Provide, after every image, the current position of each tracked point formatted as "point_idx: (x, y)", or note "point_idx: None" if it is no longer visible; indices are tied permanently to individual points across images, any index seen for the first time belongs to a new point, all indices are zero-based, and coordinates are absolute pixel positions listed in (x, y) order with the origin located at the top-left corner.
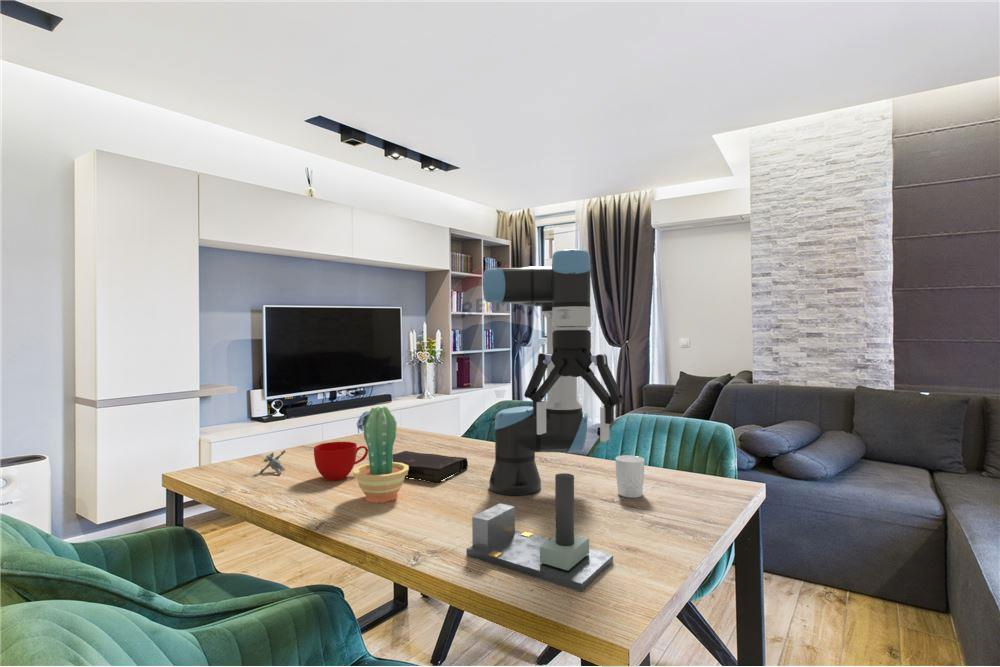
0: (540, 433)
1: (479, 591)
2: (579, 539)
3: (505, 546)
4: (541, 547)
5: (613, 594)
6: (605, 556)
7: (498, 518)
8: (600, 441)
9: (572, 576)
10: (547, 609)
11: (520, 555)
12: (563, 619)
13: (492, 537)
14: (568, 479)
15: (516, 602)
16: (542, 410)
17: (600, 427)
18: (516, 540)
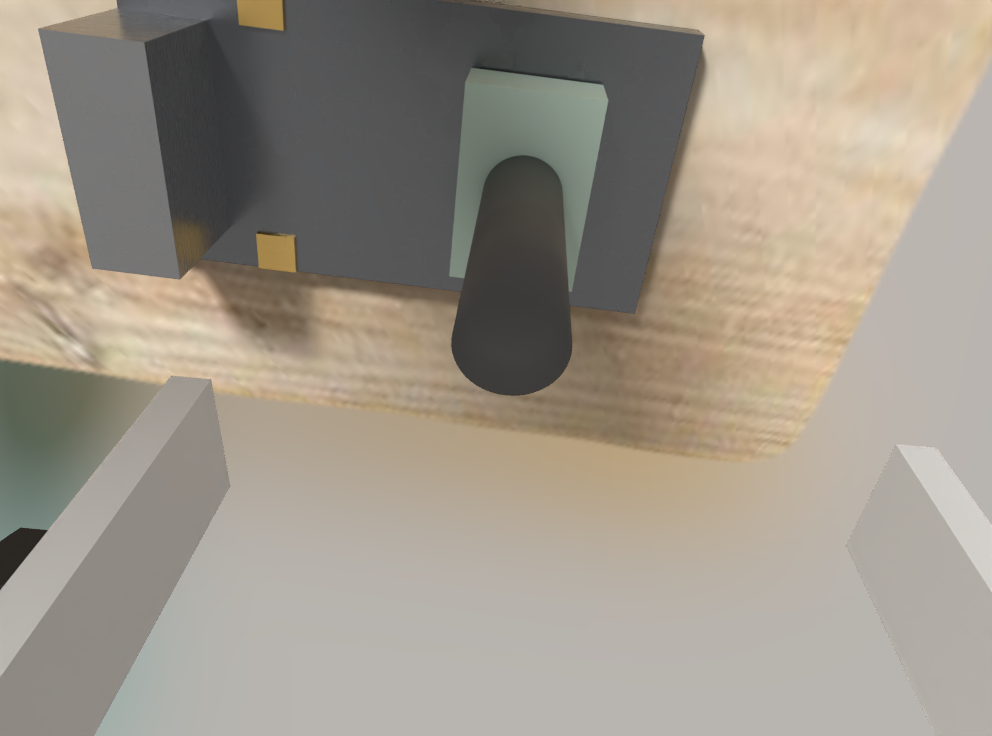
0: (225, 488)
1: (363, 407)
2: (570, 136)
3: (262, 170)
4: (456, 276)
5: (730, 271)
6: (673, 67)
7: (174, 193)
8: (848, 547)
9: (593, 283)
10: (568, 411)
11: (359, 217)
12: (621, 432)
13: (210, 213)
14: (553, 380)
15: (480, 414)
16: (97, 655)
17: (902, 660)
18: (261, 91)
